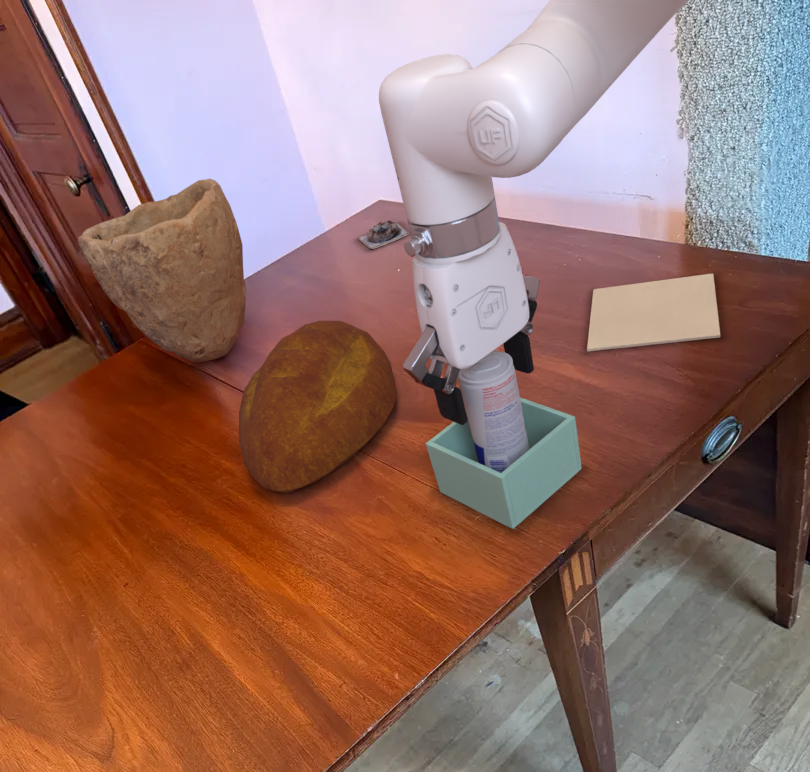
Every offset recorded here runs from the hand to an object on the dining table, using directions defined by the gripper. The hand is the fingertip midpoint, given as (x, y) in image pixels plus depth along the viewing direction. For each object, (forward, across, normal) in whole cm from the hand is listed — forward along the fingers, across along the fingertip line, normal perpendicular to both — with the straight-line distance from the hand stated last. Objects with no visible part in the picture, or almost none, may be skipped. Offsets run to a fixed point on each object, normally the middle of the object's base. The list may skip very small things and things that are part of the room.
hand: (488, 393), depth 75 cm
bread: (+12, -4, +30) cm, 32 cm away
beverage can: (+12, 0, 0) cm, 12 cm away
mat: (+12, +36, +6) cm, 38 cm away
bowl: (+12, -1, +64) cm, 66 cm away
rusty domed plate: (+12, +41, +70) cm, 82 cm away
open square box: (+12, 0, 0) cm, 12 cm away
